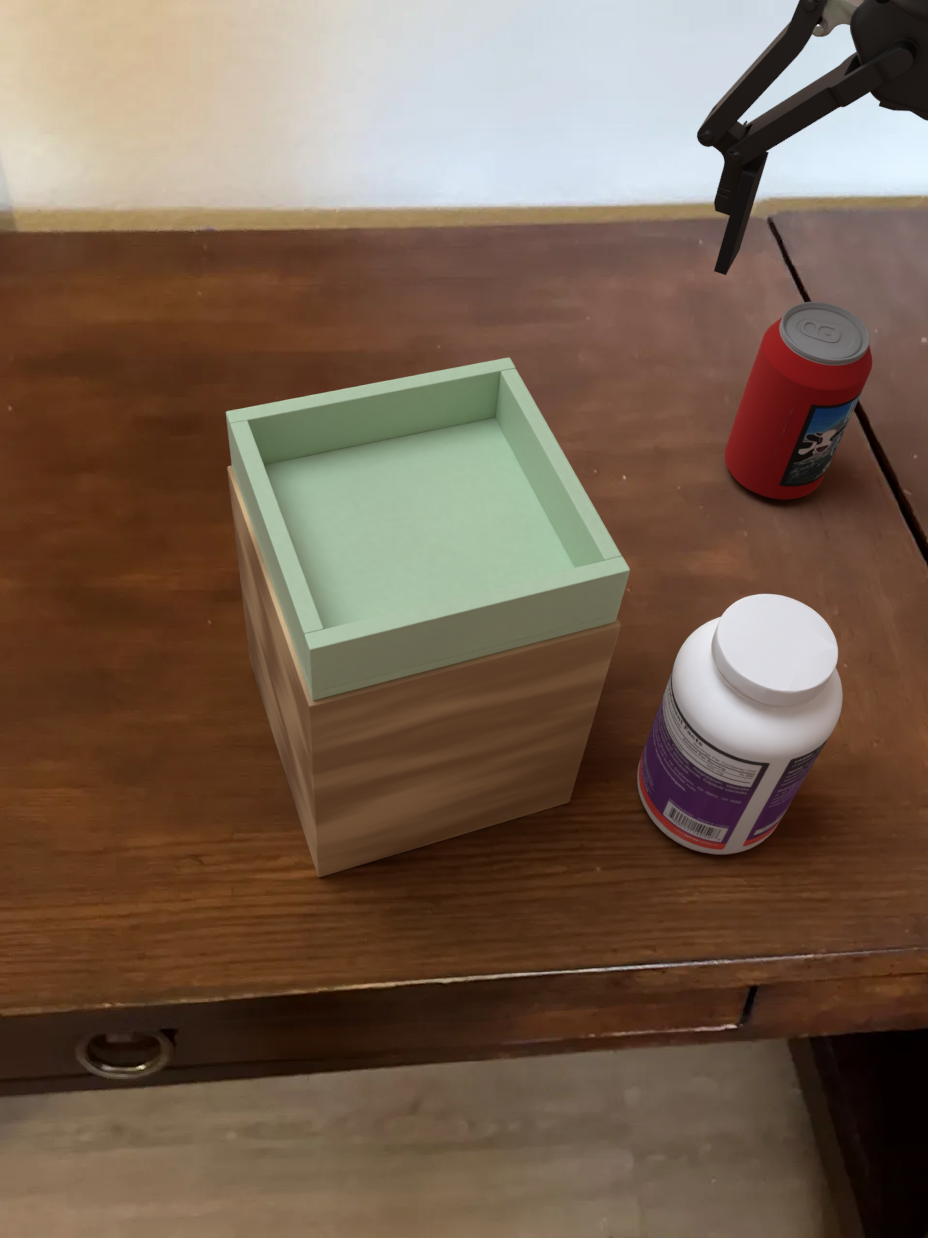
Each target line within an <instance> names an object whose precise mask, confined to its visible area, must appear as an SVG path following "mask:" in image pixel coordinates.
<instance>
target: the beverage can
mask: <svg viewBox="0 0 928 1238" xmlns="http://www.w3.org/2000/svg"><path fill="white" fill-rule="evenodd" d="M870 343H871V335H870V332H869V328H868V327H867V326H866V324H865V323H864V321H863V320H862V319H861V318H860V317H858V316H857V315H856V314H855V313H853V312H852V311H850V310H848V309H847V308H844V307H842V306H840V305H836V304H833V303H829V302H825V301H824V302H823V301H806V302H801V303H798V304H795V305H793V306H791V307H790V308H788V309H787V310H786V311H785V312H784V313H783V315H782V317H780V318H779V319H777V320H776V321H775V322H774V323H773V324H771V325H770V326H769V327H768V328H767V329H766V331H765V333H764V334H763V337H762V339H761V342H760V345H759V347H758V350H757V353H756V357H755V359H754V362H753V365H752V367H751V371H750V373H749V377H748V379H747V383H746V385H745V388H744V391H743V394H742V397H741V400H740V403H739V406H738V409H737V412H736V415H735V418H734V421H733V425H732V427H731V429H730V434H729V437H728V440H727V442H726V446H725V450H724V461H725V465H726V468H727V470H728V471H729V473H730V474H731V476H732V477H733V478H734V480H736V482H738V483H739V484H740V485H741V486H743V487H744V488H745V489H747V490H749V491H750V492H753V493H755V494H757V495H760V496H762V497H764V498H765V497H766V498H770V499H773V500H774V499H775V500H794V499H800V498H804V497H806V496H808V495H810V494H811V493H813V492H814V491H815V490H817V488H818V487H819V486H820V485H821V483H822V482H823V480H824V478H825V475H826V473H827V471H828V469H829V467H830V464H831V462H832V460H833V458H834V457H835V454H836V451H837V449H838V447H839V445H840V443H841V441H842V438H843V435H844V433H845V431H846V429H847V428H848V427H847V426H848V425H849V422H850V420H851V418H852V416H853V413H854V411H855V409H856V406H857V404H858V402H859V400H860V397H861V396H862V392H863V390H864V388H865V387H866V386H865V385H866V383H867V381H868V378H869V376H870V374H871V371H872V368H873V355H872V350H871V346H870Z"/></svg>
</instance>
